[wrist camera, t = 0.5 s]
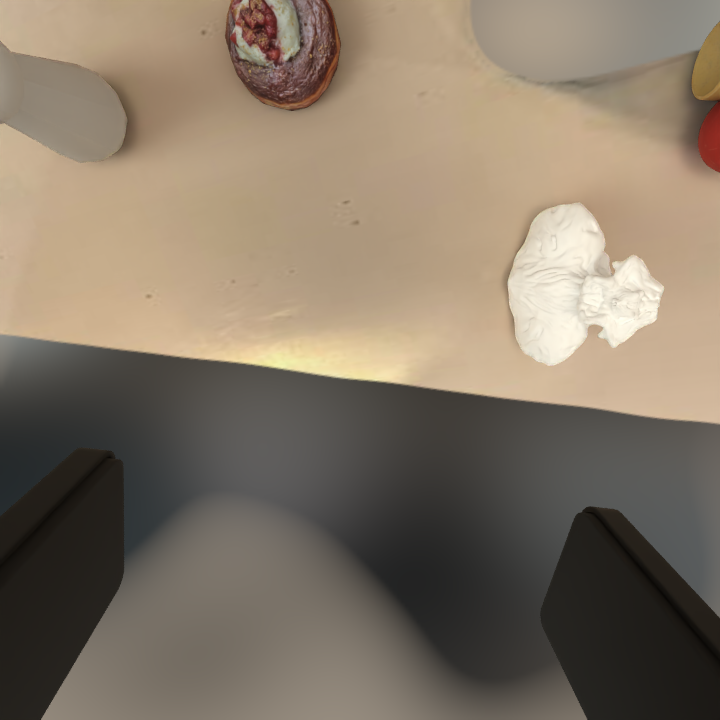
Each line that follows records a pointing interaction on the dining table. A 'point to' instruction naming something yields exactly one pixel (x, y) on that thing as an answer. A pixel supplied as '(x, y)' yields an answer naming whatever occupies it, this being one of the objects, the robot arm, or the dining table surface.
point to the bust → (575, 287)
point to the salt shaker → (61, 106)
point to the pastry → (283, 49)
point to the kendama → (709, 97)
